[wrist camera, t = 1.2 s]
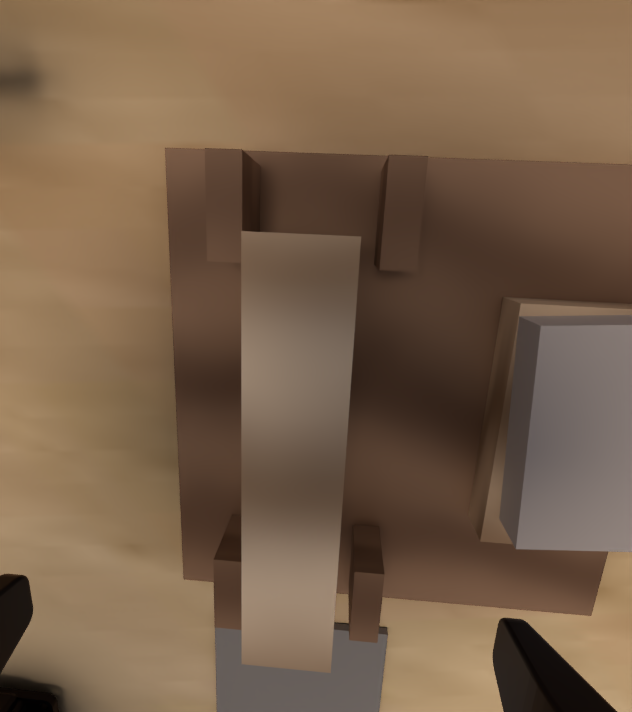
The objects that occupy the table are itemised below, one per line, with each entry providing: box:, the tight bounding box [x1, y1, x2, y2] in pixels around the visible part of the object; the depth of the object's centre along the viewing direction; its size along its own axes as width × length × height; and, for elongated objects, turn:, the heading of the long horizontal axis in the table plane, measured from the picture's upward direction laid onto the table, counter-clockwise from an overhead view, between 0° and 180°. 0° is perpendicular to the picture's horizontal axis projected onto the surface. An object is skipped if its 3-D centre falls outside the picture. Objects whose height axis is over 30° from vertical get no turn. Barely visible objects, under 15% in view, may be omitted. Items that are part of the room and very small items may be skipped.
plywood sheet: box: [241, 231, 361, 673], centre depth 16 cm, size 14×3×6 cm, turn 177°
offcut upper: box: [499, 315, 632, 552], centre depth 16 cm, size 8×4×2 cm, turn 1°
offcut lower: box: [468, 297, 632, 552], centre depth 17 cm, size 10×5×2 cm, turn 177°
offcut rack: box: [165, 148, 632, 643], centre depth 17 cm, size 20×20×4 cm
